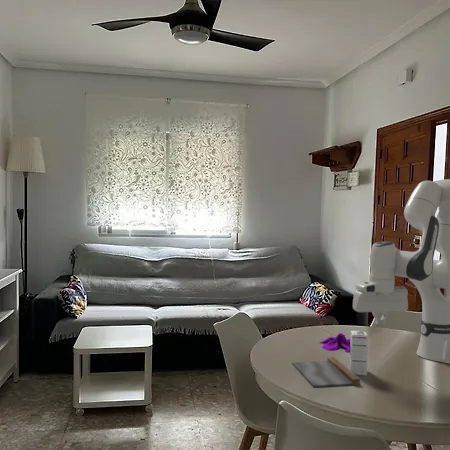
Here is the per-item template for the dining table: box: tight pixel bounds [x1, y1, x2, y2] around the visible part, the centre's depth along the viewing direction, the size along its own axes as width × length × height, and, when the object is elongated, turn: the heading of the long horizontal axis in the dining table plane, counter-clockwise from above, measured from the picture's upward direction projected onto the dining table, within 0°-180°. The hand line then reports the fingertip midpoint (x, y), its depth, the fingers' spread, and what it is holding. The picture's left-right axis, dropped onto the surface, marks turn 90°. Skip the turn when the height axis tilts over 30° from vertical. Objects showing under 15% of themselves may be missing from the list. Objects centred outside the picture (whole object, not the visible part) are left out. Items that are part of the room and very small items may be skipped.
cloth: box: [318, 332, 351, 353], centre depth 196 cm, size 22×19×6 cm
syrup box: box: [349, 330, 369, 376], centre depth 164 cm, size 6×6×14 cm
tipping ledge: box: [292, 356, 361, 388], centre depth 162 cm, size 16×22×2 cm
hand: (379, 323), depth 165 cm, fingers closed
